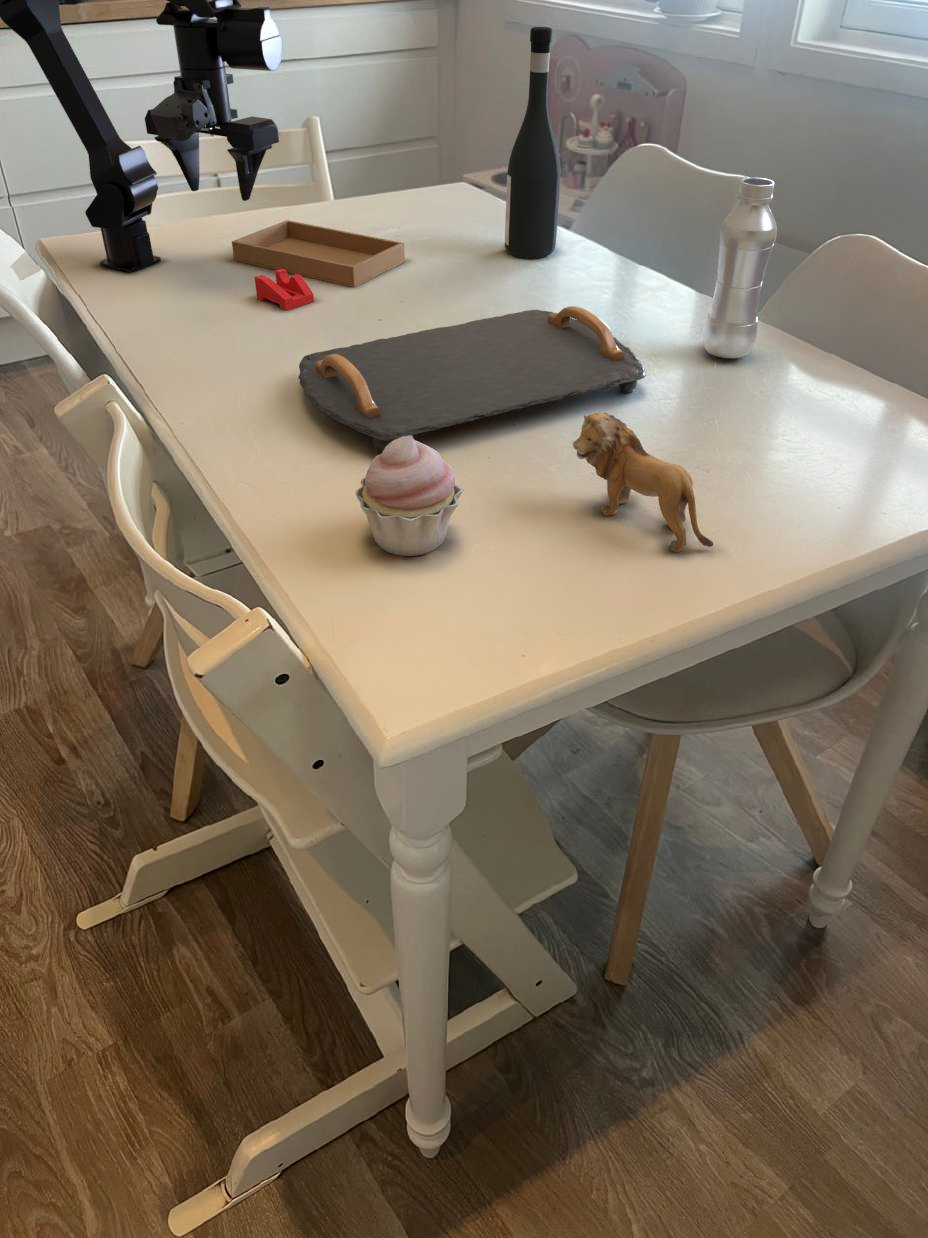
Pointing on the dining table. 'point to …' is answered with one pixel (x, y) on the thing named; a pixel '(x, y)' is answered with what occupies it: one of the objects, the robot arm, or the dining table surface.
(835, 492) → the dining table surface
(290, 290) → the bracket
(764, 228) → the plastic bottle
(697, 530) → the lion figurine
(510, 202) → the wine bottle
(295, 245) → the cardboard box
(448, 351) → the serving tray
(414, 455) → the cupcake
